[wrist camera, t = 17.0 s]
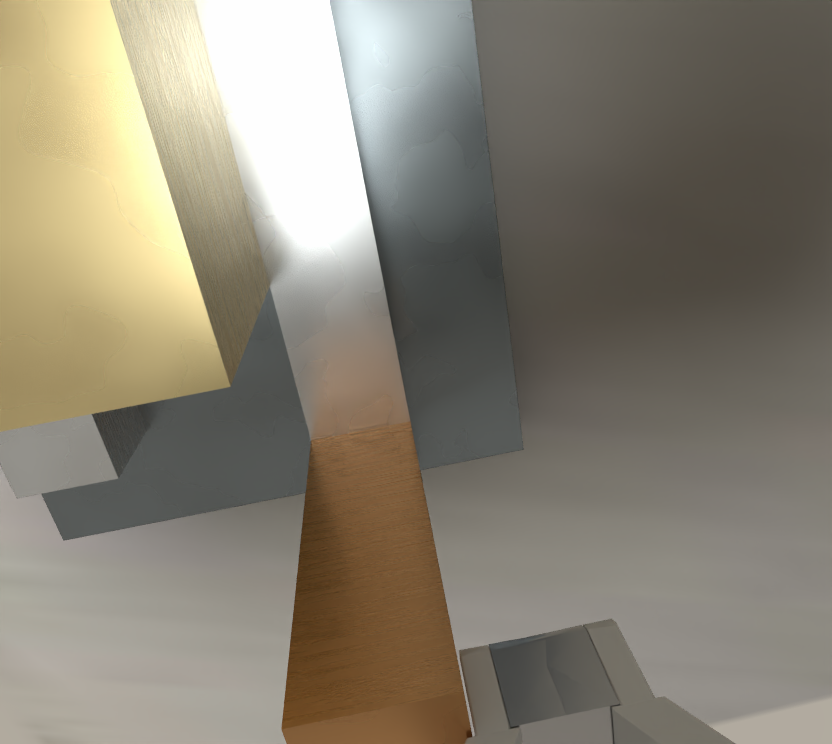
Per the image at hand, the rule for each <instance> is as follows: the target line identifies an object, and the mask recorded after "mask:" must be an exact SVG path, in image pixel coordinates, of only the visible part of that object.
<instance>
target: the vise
mask: <svg viewBox="0 0 832 744" xmlns="http://www.w3.org/2000/svg"><path fill="white" fill-rule="evenodd" d="M329 3H330V9H331V14H332V19H333V24H334V29H335V34H336V40H337V45H338V50H339V55H340V60H341V65H342V71H343V76H344V81H345V86H346V91H347V96H348V102H349V107H350V112H351V117H352V122H353V127H354V133H355V138H356V143H357V148H358V153H359V158H360V164H361V169H362V174H363V179H364V184H365V189H366V195H367V200H368V205H369V210H370V215H371V220H372V226H373V231H374V236H375V241H376V246H377V251H378V257H379V262H380V267H381V272H382V277H383V282H384V288H385V293H386V298H387V303H388V308H389V313H390V319H391V324H392V329H393V334H394V339H395V344H396V350H397V355H398V360H399V365H400V370H401V375H402V381H403V386H404V391H405V396H406V401H407V406H408V412H409V417H410V422H411V427H412V432H413V437H414V442H415V447H416V452H417V457H418V463H419V468H420V470H423V469H428V468H433V467H438V466H443V465H448V464H453V463H458V462H463V461H468V460H473V459H478V458H483V457H488V456H493V455H499V454H504V453H509V452H514V451H519V450H524V449H523V441H522V432H521V424H520V415H519V406H518V398H517V389H516V381H515V372H514V363H513V355H512V346H511V338H510V329H509V320H508V312H507V303H506V294H505V286H504V277H503V269H502V260H501V251H500V243H499V234H498V226H497V217H496V208H495V200H494V191H493V183H492V174H491V165H490V157H489V148H488V140H487V131H486V122H485V114H484V105H483V97H482V88H481V79H480V71H479V62H478V53H477V45H476V36H475V28H474V19H473V10H472V2H471V0H329ZM310 446H311V439H310V435H309V431H308V428H307V424H306V420H305V416H304V413H303V409H302V405H301V401H300V398H299V394H298V390H297V386H296V383H295V379H294V375H293V371H292V368H291V364H290V360H289V356H288V353H287V349H286V345H285V341H284V338H283V334H282V330H281V326H280V323H279V319H278V315H277V311H276V308H275V304H274V300H273V296H272V293H271V289H270V286H269V289H268V292H267V294H266V297H265V299H264V302H263V304H262V307H261V310H260V312H259V315H258V317H257V320H256V322H255V325H254V328H253V330H252V333H251V335H250V338H249V340H248V343H247V346H246V348H245V351H244V353H243V356H242V358H241V361H240V364H239V366H238V369H237V371H236V374H235V376H234V379H233V382H232V384H231V387H227V388H222V389H217V390H212V391H207V392H202V393H197V394H191V395H186V396H181V397H176V398H171V399H166V400H161V401H156V402H150V403H145V404H140V405H135V406H130V407H125V408H120V409H115V410H109V411H104V412H99V413H94V414H89V415H84V416H79V417H74V418H68V419H63V420H58V421H53V422H48V423H43V424H38V425H33V426H27V427H22V428H17V429H12V430H7V431H2V432H0V466H1V468H2V470H3V472H4V474H5V476H6V478H7V480H8V482H9V484H10V486H11V488H12V490H13V492H14V494H15V496H16V498H22V497H27V496H32V495H37V494H42V496H43V498H44V501H45V503H46V505H47V507H48V509H49V511H50V513H51V515H52V517H53V519H54V521H55V524H56V526H57V528H58V530H59V532H60V534H61V536H62V538H63V540H69V539H74V538H79V537H84V536H89V535H94V534H100V533H105V532H110V531H115V530H120V529H125V528H130V527H135V526H140V525H145V524H150V523H155V522H160V521H165V520H170V519H175V518H180V517H185V516H190V515H195V514H201V513H206V512H211V511H216V510H221V509H226V508H231V507H236V506H241V505H246V504H251V503H256V502H261V501H266V500H271V499H276V498H281V497H286V496H291V495H297V494H302V493H306V485H307V476H308V466H309V456H310Z"/></svg>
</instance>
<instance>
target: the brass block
mask: <svg viewBox="0 0 832 744" xmlns="http://www.w3.org/2000/svg"><path fill="white" fill-rule="evenodd" d="M269 286H270V285H269V282H268V278H267V274H266V270H265V267H264V263H263V259H262V255H261V252H260V248H259V244H258V240H257V237H256V233H255V229H254V225H253V222H252V218H251V214H250V210H249V207H248V203H247V199H246V195H245V192H244V188H243V184H242V180H241V177H240V173H239V169H238V165H237V162H236V158H235V154H234V150H233V147H232V143H231V139H230V136H229V132H228V128H227V124H226V121H225V117H224V113H223V109H222V106H221V102H220V98H219V94H218V91H217V87H216V83H215V79H214V76H213V72H212V68H211V64H210V61H209V57H208V53H207V49H206V46H205V42H204V38H203V34H202V31H201V27H200V23H199V19H198V16H197V12H196V8H195V4H194V1H193V0H0V432H2V431H7V430H12V429H17V428H22V427H27V426H33V425H38V424H43V423H48V422H53V421H58V420H63V419H68V418H74V417H79V416H84V415H89V414H94V413H99V412H104V411H109V410H115V409H120V408H125V407H130V406H135V405H140V404H145V403H150V402H156V401H161V400H166V399H171V398H176V397H181V396H186V395H191V394H197V393H202V392H207V391H212V390H217V389H222V388H227V387H231V384H232V382H233V379H234V376H235V374H236V371H237V369H238V366H239V364H240V361H241V358H242V356H243V353H244V351H245V348H246V346H247V343H248V340H249V338H250V335H251V333H252V330H253V328H254V325H255V322H256V320H257V317H258V315H259V312H260V310H261V307H262V304H263V302H264V299H265V297H266V294H267V292H268V289H269Z"/></svg>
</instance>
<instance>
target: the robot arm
mask: <svg viewBox="0 0 832 744" xmlns="http://www.w3.org/2000/svg"><path fill="white" fill-rule="evenodd" d="M459 653H460V662H461V667H462V672H463V677H464V682H465V687H466V692H467V697H468V702H469V707H470V712H471V717H472V722H473V727H474V732H475V736H474V737H470V738H467V739H466V741H465V744H735V743H734V742H732V741H731V740H729V739H728V738H726V737H725V736H723V735H721V734H720V733H719V732H717V731H716V730H714V729H713V728H711V727H710V726H708V725H707V724H705V723H704V722H702V721H701V720H699V719H698V718H696V717H694V716H693V715H691V714H690V713H688V712H687V711H685V710H684V709H682V708H681V707H679V706H678V705H676V704H675V703H673V702H672V701H670V700H669V699H667V698H666V697H658V698H655V697H654V695H653V693H652V691H651V689H650V687H649V685H648V683H647V681H646V679H645V677H644V675H643V673H642V672H641V670H640V668H639V666H638V664H637V662H636V660H635V658H634V656H633V654H632V652H631V650H630V648H629V646H628V645H627V643H626V641H625V639H624V637H623V635H622V633H621V631H620V629H619V627H618V625H617V623H616V622H615V621H614V620H612V619H608V620H603V621H599V622H594V623H590V624H585V625H583V626H582V625H579V626H575V627H570V628H566V629H561V630H557V631H552V632H548V633H543V634H539V635H534V636H530V637H526V638H521V639H515V640H510V641H504V642H499V643H493V644H489V647H488V645H485V646H480V647H474V648H469V649H464V650H459Z"/></svg>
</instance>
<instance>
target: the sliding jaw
mask: <svg viewBox="0 0 832 744" xmlns="http://www.w3.org/2000/svg"><path fill="white" fill-rule="evenodd" d="M193 1H194V4H195V8H196V12H197V16H198V19H199V23H200V27H201V31H202V34H203V38H204V42H205V46H206V49H207V53H208V57H209V61H210V64H211V68H212V72H213V76H214V79H215V83H216V87H217V91H218V94H219V98H220V102H221V106H222V109H223V113H224V117H225V121H226V124H227V128H228V132H229V136H230V139H231V143H232V147H233V150H234V154H235V158H236V162H237V165H238V169H239V173H240V177H241V180H242V184H243V188H244V192H245V195H246V199H247V203H248V207H249V210H250V214H251V218H252V222H253V225H254V229H255V233H256V237H257V240H258V244H259V248H260V252H261V255H262V259H263V263H264V267H265V270H266V274H267V278H268V282H269V285H270V289H271V293H272V296H273V300H274V304H275V308H276V311H277V315H278V319H279V323H280V326H281V330H282V334H283V338H284V341H285V345H286V349H287V353H288V356H289V360H290V364H291V368H292V371H293V375H294V379H295V383H296V386H297V390H298V394H299V398H300V401H301V405H302V409H303V413H304V416H305V420H306V424H307V428H308V431H309V435H310V439H311V446H310V456H309V466H308V476H307V485H306V495H305V505H304V515H303V524H302V534H301V544H300V554H299V564H298V573H297V583H296V593H295V603H294V612H293V622H292V632H291V642H290V652H289V661H288V671H287V681H286V691H285V700H284V710H283V720H282V732H283V735H284V737H285V740H286V743H287V744H465V741H466V739H467V738H470V737H472V732H471V727H470V722H469V717H468V711H467V706H466V701H465V696H464V691H463V686H462V680H461V675H460V670H459V665H458V660H457V655H456V650H455V645H454V640H453V635H452V630H451V625H450V620H449V615H448V609H447V604H446V599H445V594H444V589H443V584H442V579H441V574H440V569H439V564H438V559H437V554H436V549H435V544H434V539H433V533H432V528H431V523H430V518H429V513H428V508H427V503H426V498H425V493H424V488H423V483H422V478H421V473H420V468H419V463H418V457H417V452H416V447H415V442H414V437H413V432H412V427H411V422H410V417H409V412H408V406H407V401H406V396H405V391H404V386H403V381H402V375H401V370H400V365H399V360H398V355H397V350H396V344H395V339H394V334H393V329H392V324H391V319H390V313H389V308H388V303H387V298H386V293H385V288H384V282H383V277H382V272H381V267H380V262H379V257H378V251H377V246H376V241H375V236H374V231H373V226H372V220H371V215H370V210H369V205H368V200H367V195H366V189H365V184H364V179H363V174H362V169H361V164H360V158H359V153H358V148H357V143H356V138H355V133H354V127H353V122H352V117H351V112H350V107H349V102H348V96H347V91H346V86H345V81H344V76H343V71H342V65H341V60H340V55H339V50H338V45H337V40H336V34H335V29H334V24H333V19H332V14H331V9H330V3H329V0H193Z"/></svg>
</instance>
